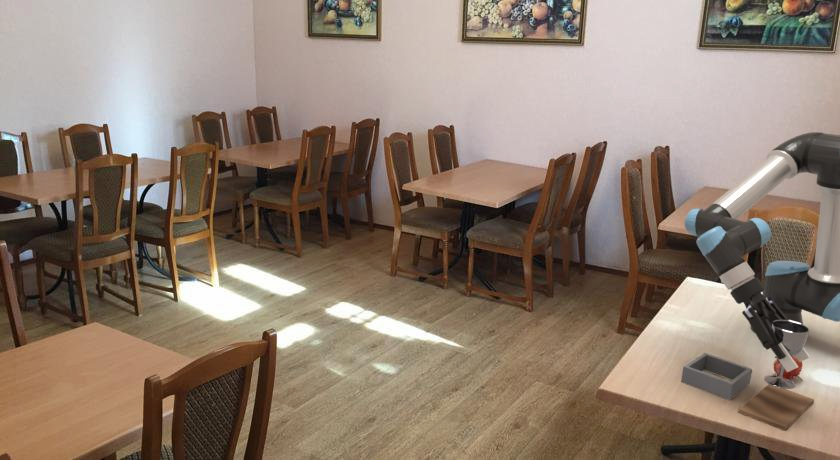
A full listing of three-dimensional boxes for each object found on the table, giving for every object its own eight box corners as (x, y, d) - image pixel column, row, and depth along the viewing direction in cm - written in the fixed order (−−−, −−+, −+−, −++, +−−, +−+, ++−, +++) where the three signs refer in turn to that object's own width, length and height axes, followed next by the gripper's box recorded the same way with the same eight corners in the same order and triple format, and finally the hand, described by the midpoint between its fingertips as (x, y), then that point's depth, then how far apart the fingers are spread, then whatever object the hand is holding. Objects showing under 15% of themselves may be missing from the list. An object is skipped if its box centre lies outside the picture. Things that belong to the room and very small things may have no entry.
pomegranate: (790, 380, 196) (763, 356, 196) (813, 366, 192) (785, 341, 193) (792, 395, 189) (764, 369, 190) (815, 380, 186) (787, 354, 186)
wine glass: (801, 391, 170) (813, 334, 166) (766, 387, 171) (777, 330, 167) (791, 376, 177) (803, 321, 173) (758, 372, 179) (768, 318, 175)
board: (768, 386, 187) (769, 383, 187) (813, 402, 179) (814, 399, 179) (738, 412, 173) (738, 408, 173) (785, 430, 166) (785, 426, 165)
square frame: (702, 367, 197) (704, 352, 195) (749, 384, 188) (752, 369, 187) (680, 381, 188) (683, 366, 187) (729, 400, 179) (732, 384, 178)
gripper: (746, 282, 186) (799, 358, 180) (712, 299, 172) (769, 383, 166) (770, 268, 181) (826, 346, 175) (738, 285, 167) (797, 370, 161)
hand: (798, 364), depth 170 cm, fingers closed on wine glass, 8 cm apart
